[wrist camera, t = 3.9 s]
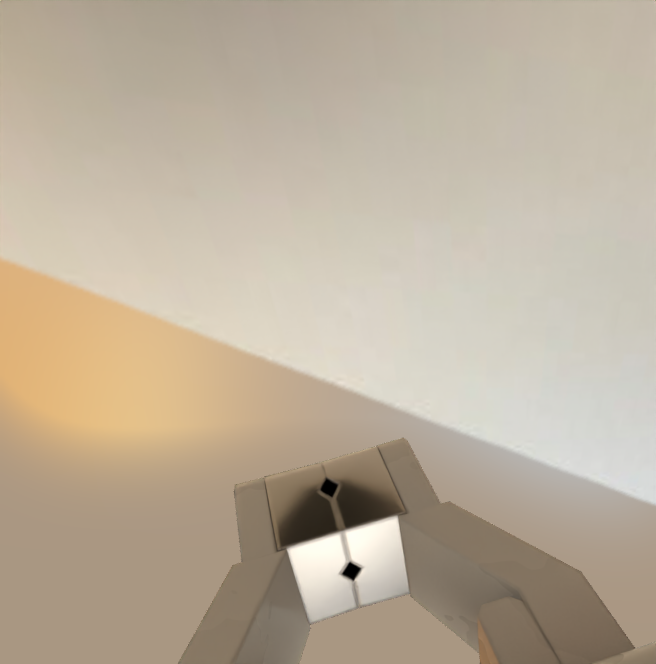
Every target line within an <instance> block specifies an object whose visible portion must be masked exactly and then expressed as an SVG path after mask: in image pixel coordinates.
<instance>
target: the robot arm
mask: <svg viewBox="0 0 656 664" xmlns="http://www.w3.org/2000/svg"><path fill="white" fill-rule="evenodd" d="M234 498H235V507H236V515H237V525H238V533H239V543H240V552H241V561H242V562H241V563H238V564H235V565H233V566H232V567H231V569H230V571H229V573H228V574H227V576H226V578H225V580H224V582H223V583H222V585H221V587H220V589H219V591H218V592H217V594H216V596H215V598H214V600H213V601H212V603H211V605H210V607H209V608H208V610H207V612H206V614H205V616H204V617H203V620H202V621H201V623H200V625H199V627H198V628H197V630H196V632H195V634H194V635H193V637H192V639H191V641H190V643H189V644H188V646H187V648H186V650H185V651H184V653H183V655H182V657H181V659H180V660H179V662H178V664H299V663H300V660H301V657H302V654H303V650H304V647H305V644H306V641H307V638H308V635H309V631H310V625H311V624H314V623H317V622H320V621H323V620H326V619H329V618H332V617H335V616H338V615H341V614H344V613H347V612H349V611H353V610H356V609H358V608H362V607H366V606H369V605H373V604H376V603H380V602H383V601H387V600H390V599H394V598H398V597H401V596H405V595H408V594H410V596H411V597H412V598H413V599H414V600H415V601H416V602H418V603H419V604H420V605H421V606H422V607H424V608H425V609H426V610H427V611H428V612H430V613H431V614H432V615H433V616H435V617H436V618H437V619H438V620H439V621H440V622H442V623H443V624H444V625H445V626H447V627H448V628H449V629H450V630H451V631H453V632H454V633H455V634H456V635H457V636H459V637H460V638H461V639H462V640H463V641H465V642H466V643H467V644H468V645H469V646H471V647H472V648H473V649H474V650H476V651H477V652H478V653H479V655H480V656H479V657H480V664H656V642H653V643H651V644H648V645H644V646H642V647H639V648H635V647H634V646H633V645H632V643H631V641H630V640H629V639H628V637H627V636H626V634H625V633H624V632H623V630H622V629H621V627H620V626H619V625H618V623H617V622H616V620H615V619H614V617H613V616H612V615H611V613H610V612H609V610H608V609H607V608H606V606H605V605H604V603H603V602H602V600H601V599H600V598H599V596H598V595H597V593H596V592H595V591H594V589H593V588H592V586H591V585H590V584H589V582H588V581H587V579H586V578H585V576H584V575H583V574H582V572H581V571H579V570H577V569H575V568H573V567H571V566H569V565H568V564H566V563H564V562H562V561H560V560H558V559H556V558H554V557H553V556H551V555H549V554H547V553H545V552H543V551H541V550H539V549H538V548H536V547H534V546H532V545H530V544H528V543H526V542H525V541H523V540H521V539H519V538H517V537H515V536H513V535H511V534H510V533H508V532H506V531H504V530H502V529H500V528H498V527H496V526H495V525H493V524H491V523H489V522H487V521H485V520H483V519H482V518H480V517H478V516H476V515H474V514H472V513H470V512H468V511H467V510H465V509H462V508H461V507H459V506H457V505H455V504H453V503H452V502H450V501H449V502H445V503H442V504H441V503H440V501H439V499H438V497H437V496H436V494H435V492H434V490H433V488H432V486H431V484H430V482H429V480H428V478H427V477H426V475H425V473H424V471H423V469H422V467H421V465H420V463H419V461H418V460H417V458H416V456H415V454H414V452H413V450H412V448H411V446H410V445H409V443H408V441H407V440H406V439H404V438H400V439H397V440H393V441H390V442H387V443H384V444H380V445H377V446H376V447H371V448H368V449H365V450H361V451H357V452H354V453H350V454H347V455H344V456H340V457H337V458H333V459H330V460H326V461H323V462H320V463H316V464H312V465H308V466H304V467H300V468H297V469H293V470H288V471H284V472H281V473H277V474H273V475H269V476H265V478H260V479H256V480H252V481H248V482H244V483H240V484H236V485H235V489H234Z"/></svg>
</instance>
